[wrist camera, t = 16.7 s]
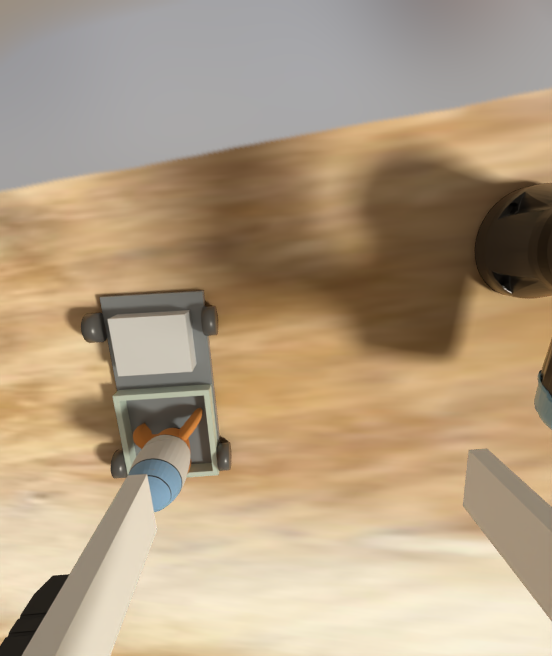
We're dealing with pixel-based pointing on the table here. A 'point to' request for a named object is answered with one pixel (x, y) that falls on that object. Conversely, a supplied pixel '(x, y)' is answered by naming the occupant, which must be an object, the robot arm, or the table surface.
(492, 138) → the table surface
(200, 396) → the toy truck
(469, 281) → the table surface
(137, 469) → the toy rocket
